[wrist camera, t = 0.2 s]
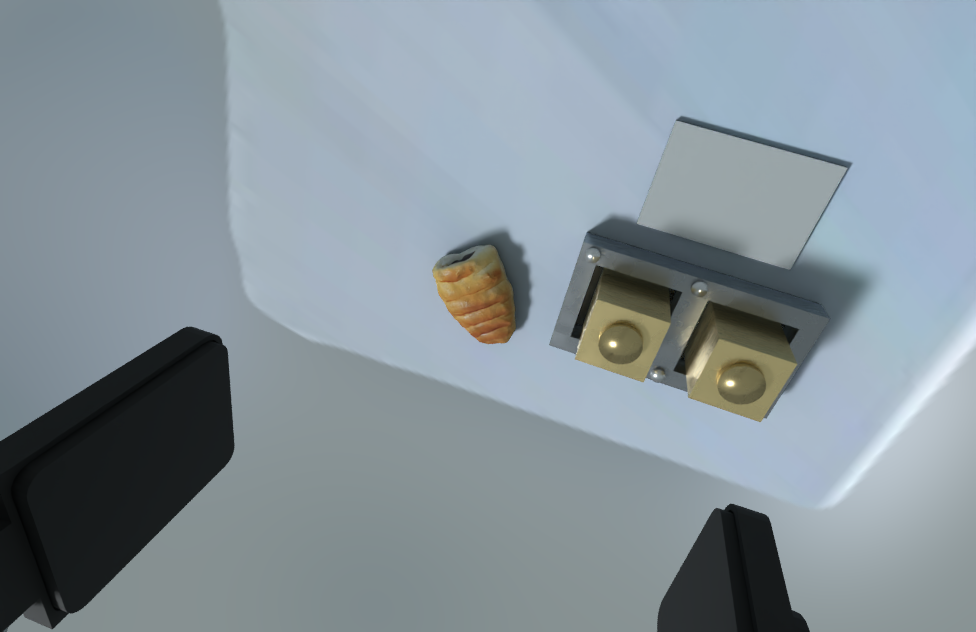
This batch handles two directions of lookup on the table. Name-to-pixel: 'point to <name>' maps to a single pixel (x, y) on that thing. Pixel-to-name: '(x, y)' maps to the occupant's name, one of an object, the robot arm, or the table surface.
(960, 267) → the table surface
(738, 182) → the mat
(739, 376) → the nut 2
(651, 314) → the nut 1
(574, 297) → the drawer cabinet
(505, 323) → the pastry
